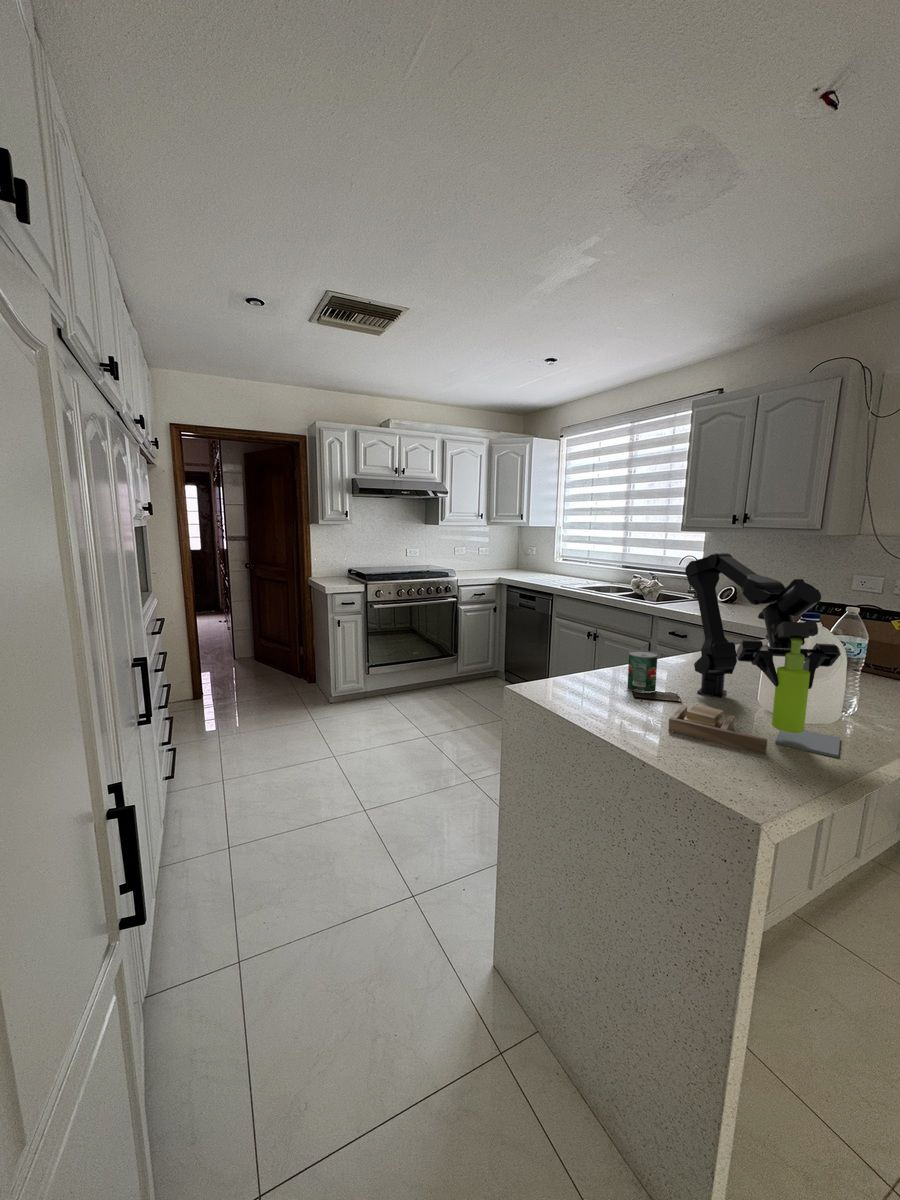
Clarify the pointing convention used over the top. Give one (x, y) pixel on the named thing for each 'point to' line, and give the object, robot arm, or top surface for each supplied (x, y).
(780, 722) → the soap dispenser
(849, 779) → the top surface
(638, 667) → the canned tomato
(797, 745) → the slate mat
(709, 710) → the offcut stack
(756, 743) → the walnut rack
